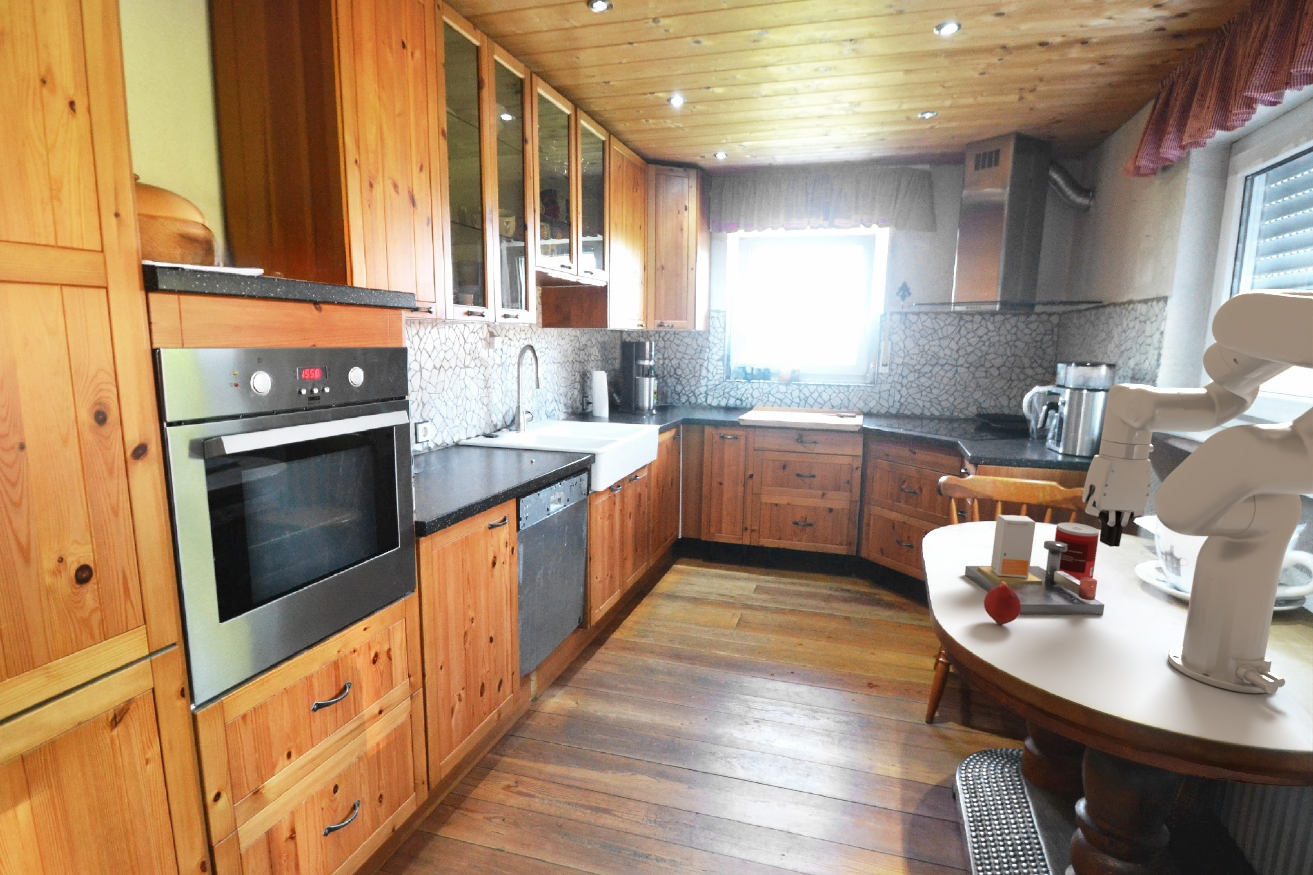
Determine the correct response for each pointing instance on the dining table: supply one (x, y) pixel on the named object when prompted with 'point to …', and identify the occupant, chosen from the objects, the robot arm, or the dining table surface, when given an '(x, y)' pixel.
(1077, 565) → the canned food
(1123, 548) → the dining table surface
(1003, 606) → the onion
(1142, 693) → the dining table surface
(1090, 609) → the press bed
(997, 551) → the skincare box
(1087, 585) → the lever
